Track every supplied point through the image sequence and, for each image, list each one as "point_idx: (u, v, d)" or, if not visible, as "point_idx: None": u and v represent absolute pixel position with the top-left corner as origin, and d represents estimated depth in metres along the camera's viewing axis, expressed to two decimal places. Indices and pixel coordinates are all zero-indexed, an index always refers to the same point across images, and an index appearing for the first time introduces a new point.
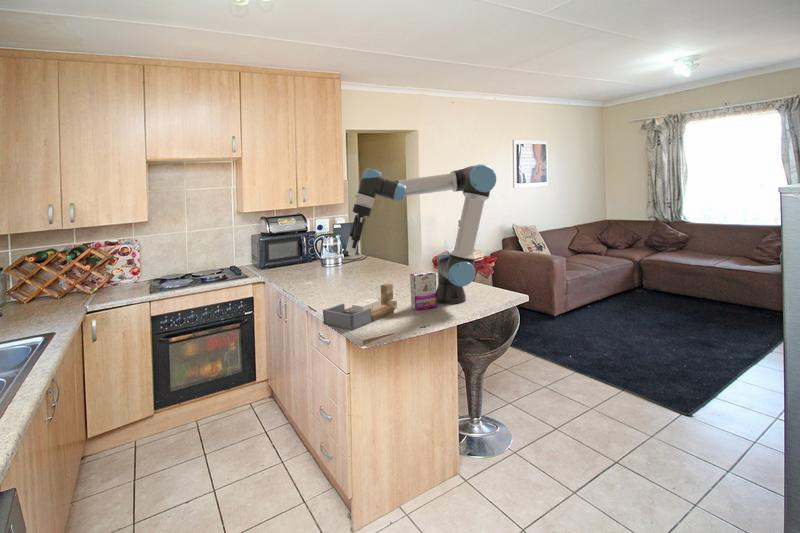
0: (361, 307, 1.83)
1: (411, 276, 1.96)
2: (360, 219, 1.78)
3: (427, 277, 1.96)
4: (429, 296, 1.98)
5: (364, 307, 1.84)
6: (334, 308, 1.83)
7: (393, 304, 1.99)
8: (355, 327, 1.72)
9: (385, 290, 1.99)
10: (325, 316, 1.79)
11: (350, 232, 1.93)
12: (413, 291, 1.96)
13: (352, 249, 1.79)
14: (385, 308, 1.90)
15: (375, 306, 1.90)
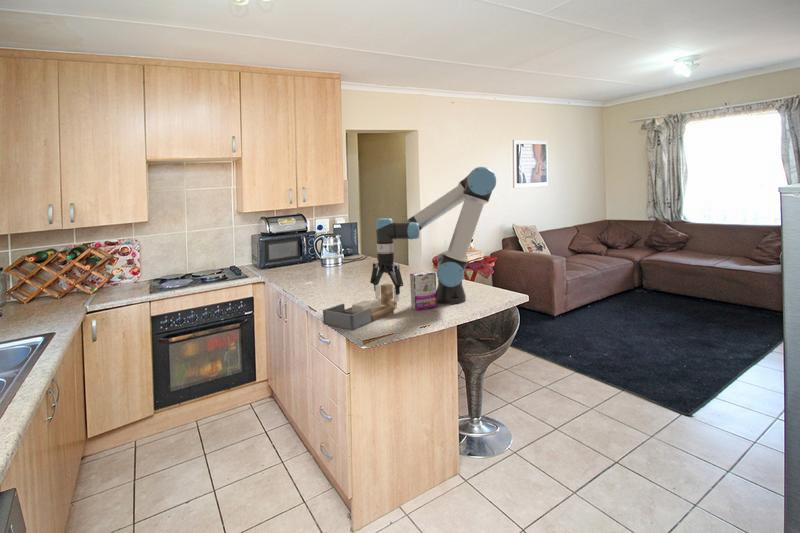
0: (361, 307, 1.83)
1: (411, 276, 1.96)
2: (397, 267, 1.95)
3: (427, 277, 1.96)
4: (429, 296, 1.98)
5: (364, 307, 1.84)
6: (334, 308, 1.83)
7: (393, 304, 1.99)
8: (355, 327, 1.72)
9: (385, 290, 1.99)
10: (325, 316, 1.79)
11: (372, 281, 2.03)
12: (413, 291, 1.96)
13: (396, 295, 1.98)
14: (385, 308, 1.90)
15: (375, 306, 1.90)
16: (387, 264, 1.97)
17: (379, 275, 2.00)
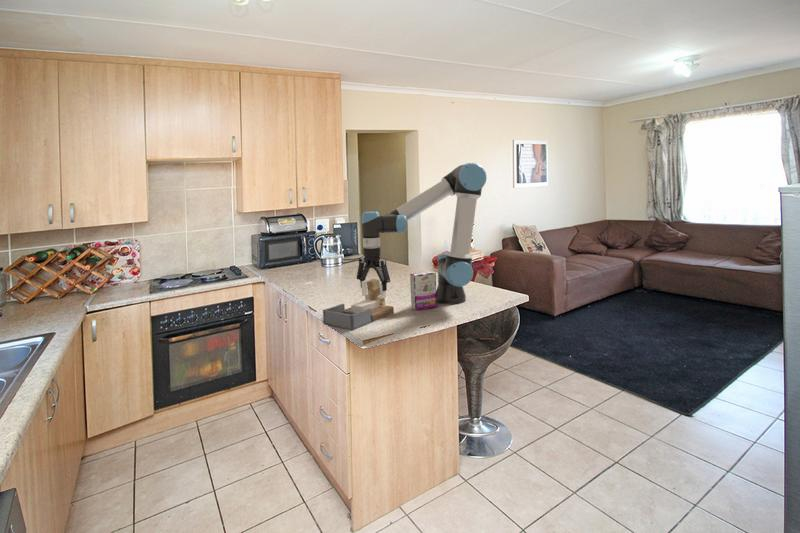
0: (360, 307, 1.83)
1: (411, 276, 1.96)
2: (383, 262, 1.86)
3: (427, 277, 1.96)
4: (429, 296, 1.98)
5: (363, 307, 1.83)
6: (334, 308, 1.83)
7: (381, 300, 1.91)
8: (355, 327, 1.72)
9: (371, 286, 1.91)
10: (325, 316, 1.79)
11: (358, 277, 1.95)
12: (413, 291, 1.96)
13: (383, 292, 1.90)
14: (385, 308, 1.90)
15: (373, 307, 1.89)
16: (373, 259, 1.89)
17: (365, 271, 1.92)
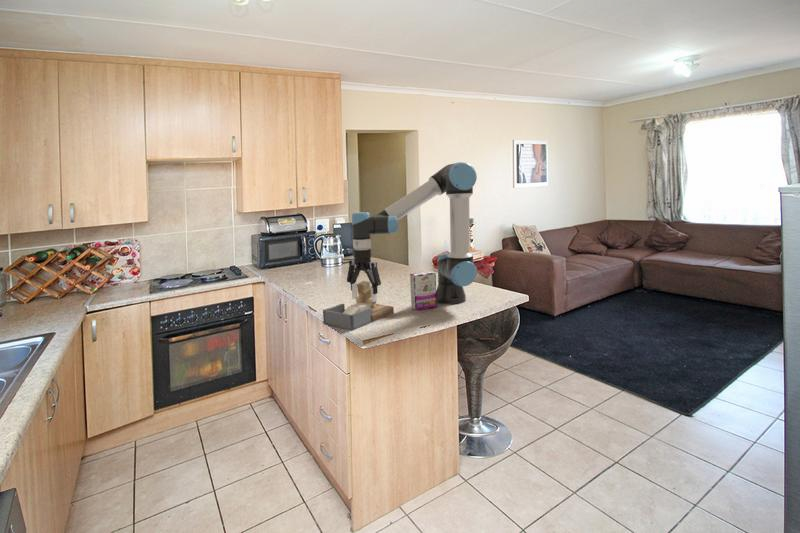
0: None
1: (411, 276, 1.96)
2: (374, 265, 1.81)
3: (427, 277, 1.96)
4: (429, 296, 1.98)
5: None
6: (334, 308, 1.83)
7: (372, 303, 1.86)
8: (355, 327, 1.72)
9: (362, 289, 1.85)
10: (325, 316, 1.79)
11: (348, 279, 1.90)
12: (413, 291, 1.96)
13: (374, 295, 1.84)
14: (385, 308, 1.90)
15: None
16: (364, 261, 1.83)
17: (356, 273, 1.87)
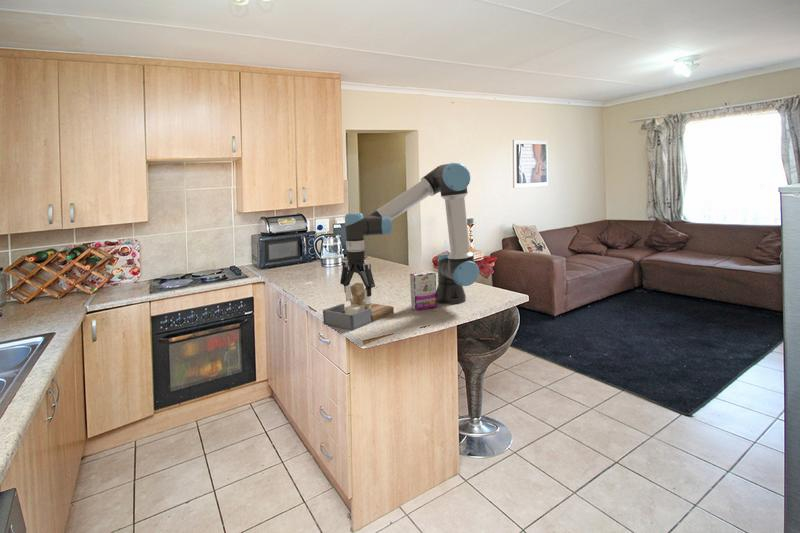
0: None
1: (411, 276, 1.96)
2: (368, 267, 1.78)
3: (427, 277, 1.96)
4: (429, 296, 1.98)
5: None
6: (334, 308, 1.83)
7: (366, 305, 1.83)
8: (355, 327, 1.72)
9: (355, 291, 1.82)
10: (325, 316, 1.79)
11: (342, 281, 1.87)
12: (413, 291, 1.96)
13: (367, 297, 1.81)
14: (385, 308, 1.90)
15: None
16: (357, 263, 1.80)
17: (349, 275, 1.84)
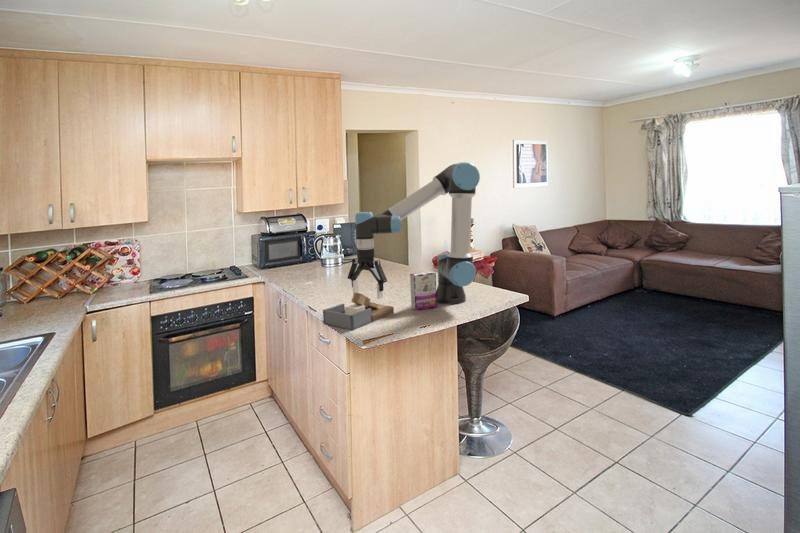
0: None
1: (411, 276, 1.96)
2: (378, 262, 1.83)
3: (427, 277, 1.96)
4: (429, 296, 1.98)
5: None
6: (334, 308, 1.83)
7: (374, 307, 1.88)
8: (355, 327, 1.72)
9: (358, 303, 1.84)
10: (325, 316, 1.79)
11: (349, 277, 1.92)
12: (413, 291, 1.96)
13: (380, 292, 1.85)
14: (385, 308, 1.90)
15: None
16: (367, 261, 1.85)
17: (358, 271, 1.89)
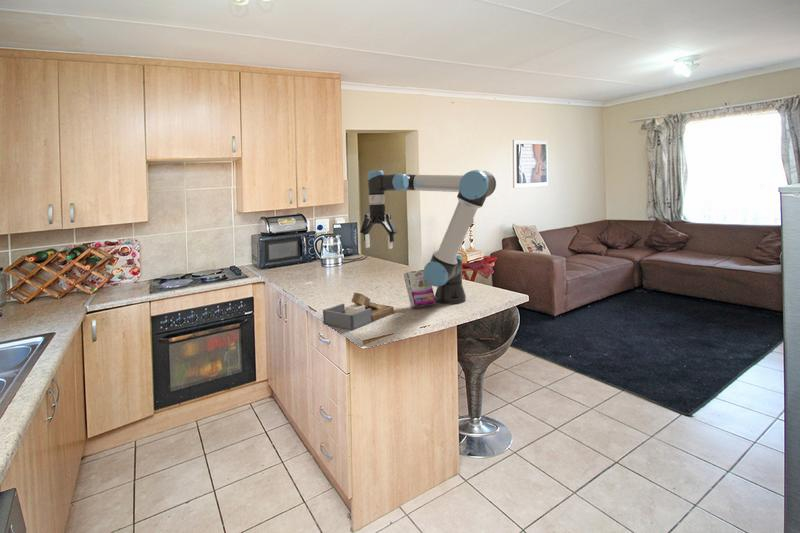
0: None
1: (405, 275, 2.02)
2: (388, 216, 2.03)
3: (420, 273, 2.02)
4: (426, 291, 2.00)
5: None
6: (334, 308, 1.83)
7: (374, 307, 1.88)
8: (355, 327, 1.72)
9: (358, 303, 1.84)
10: (325, 316, 1.79)
11: (362, 231, 2.12)
12: (409, 288, 1.99)
13: (390, 243, 2.05)
14: (385, 308, 1.90)
15: None
16: (379, 215, 2.05)
17: (370, 225, 2.09)
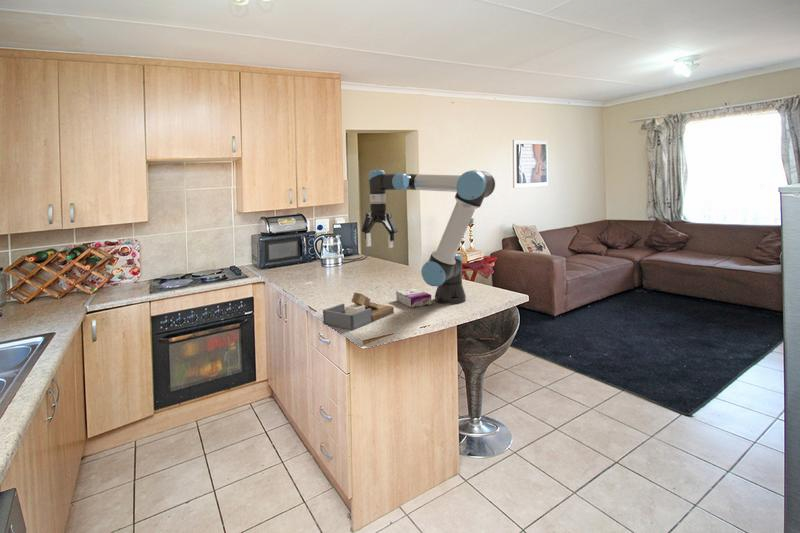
0: None
1: (396, 297, 2.13)
2: (389, 215, 2.05)
3: (409, 289, 2.15)
4: (418, 293, 2.07)
5: None
6: (334, 308, 1.83)
7: (374, 307, 1.88)
8: (355, 327, 1.72)
9: (358, 303, 1.84)
10: (325, 316, 1.79)
11: (363, 230, 2.14)
12: (402, 297, 2.07)
13: (391, 242, 2.07)
14: (385, 308, 1.90)
15: None
16: (379, 214, 2.07)
17: (371, 224, 2.11)
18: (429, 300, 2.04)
